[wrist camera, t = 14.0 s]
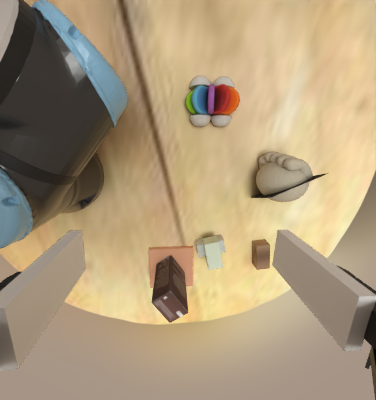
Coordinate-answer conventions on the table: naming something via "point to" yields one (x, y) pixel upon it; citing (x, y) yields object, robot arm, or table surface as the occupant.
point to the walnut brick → (261, 254)
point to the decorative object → (283, 177)
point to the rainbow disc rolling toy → (212, 101)
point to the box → (170, 289)
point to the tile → (178, 253)
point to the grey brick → (201, 247)
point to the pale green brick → (212, 252)
